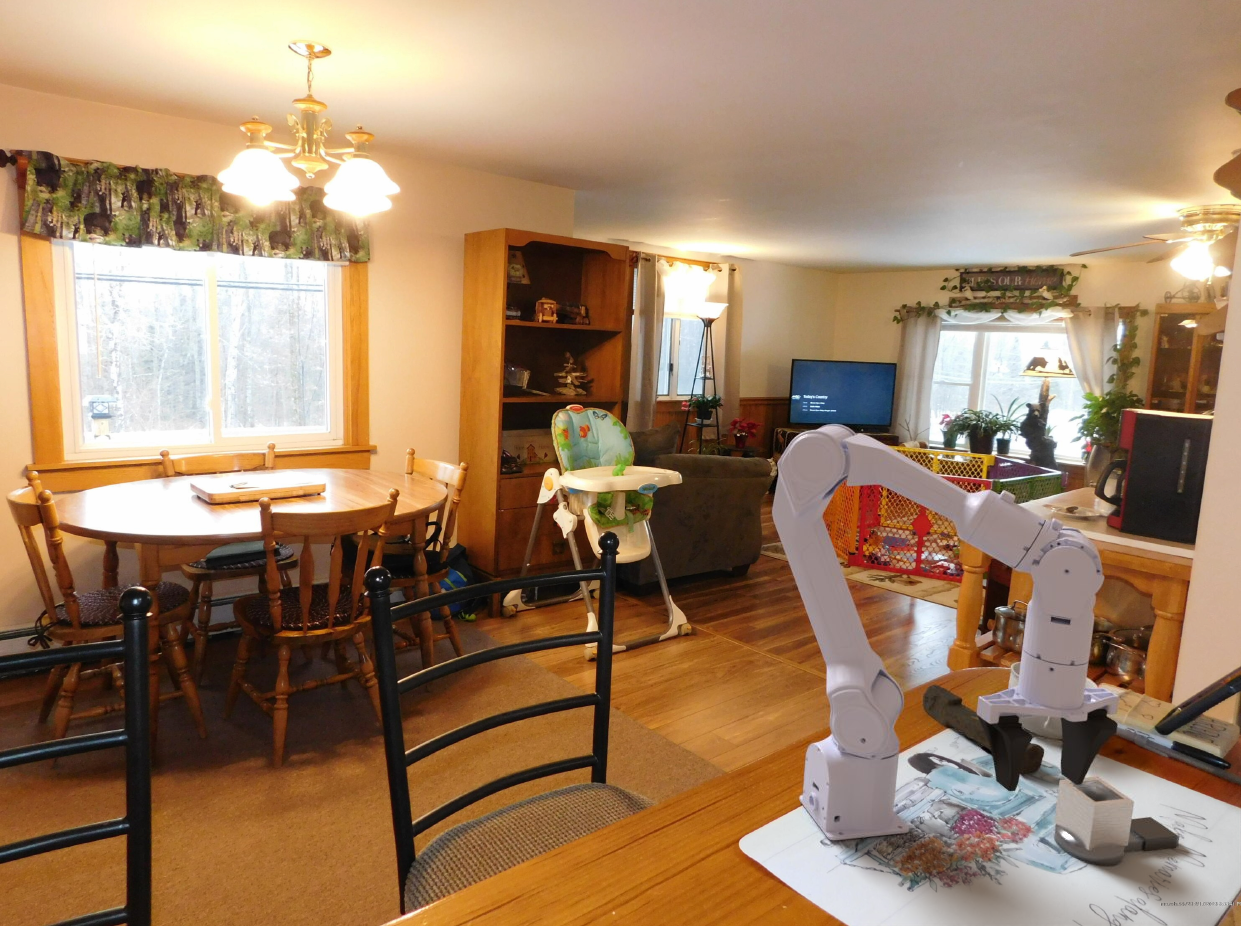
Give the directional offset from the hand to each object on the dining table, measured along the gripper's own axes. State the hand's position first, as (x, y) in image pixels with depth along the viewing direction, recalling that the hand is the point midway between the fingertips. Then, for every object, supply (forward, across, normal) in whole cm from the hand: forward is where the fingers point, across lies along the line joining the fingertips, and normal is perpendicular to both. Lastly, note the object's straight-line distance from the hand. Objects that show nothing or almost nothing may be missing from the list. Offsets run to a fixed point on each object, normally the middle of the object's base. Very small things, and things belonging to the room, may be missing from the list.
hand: (1038, 782), depth 80 cm
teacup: (+10, +23, +25) cm, 35 cm away
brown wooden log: (+10, +11, +25) cm, 29 cm away
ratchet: (+9, +12, +2) cm, 16 cm away
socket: (+8, +9, +2) cm, 12 cm away
